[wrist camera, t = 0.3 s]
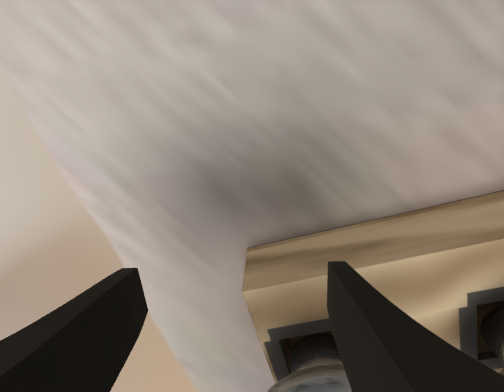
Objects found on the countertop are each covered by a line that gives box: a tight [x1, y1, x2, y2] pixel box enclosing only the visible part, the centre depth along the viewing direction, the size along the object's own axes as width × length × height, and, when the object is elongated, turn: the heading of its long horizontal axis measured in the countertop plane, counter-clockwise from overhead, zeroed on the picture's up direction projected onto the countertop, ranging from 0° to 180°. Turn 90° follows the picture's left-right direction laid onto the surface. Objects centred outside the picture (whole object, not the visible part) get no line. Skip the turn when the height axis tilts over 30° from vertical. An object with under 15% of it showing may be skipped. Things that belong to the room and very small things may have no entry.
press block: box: [242, 191, 504, 383], centre depth 20 cm, size 13×19×5 cm
